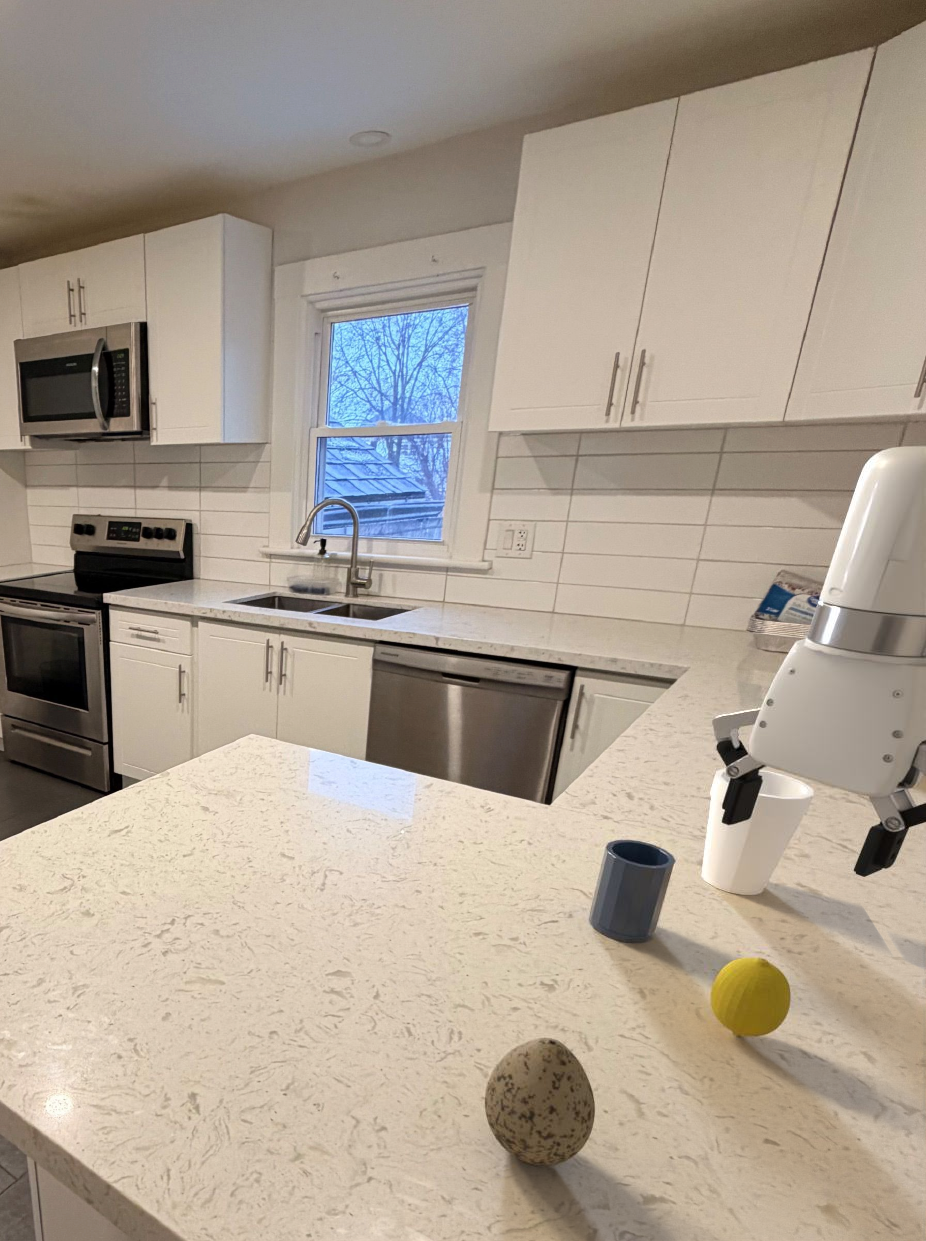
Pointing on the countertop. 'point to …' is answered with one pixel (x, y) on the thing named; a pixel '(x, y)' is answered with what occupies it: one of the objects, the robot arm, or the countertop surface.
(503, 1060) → the decorative egg
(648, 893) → the blue cup
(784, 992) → the lemon
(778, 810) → the foam cup
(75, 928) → the countertop surface
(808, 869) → the countertop surface
